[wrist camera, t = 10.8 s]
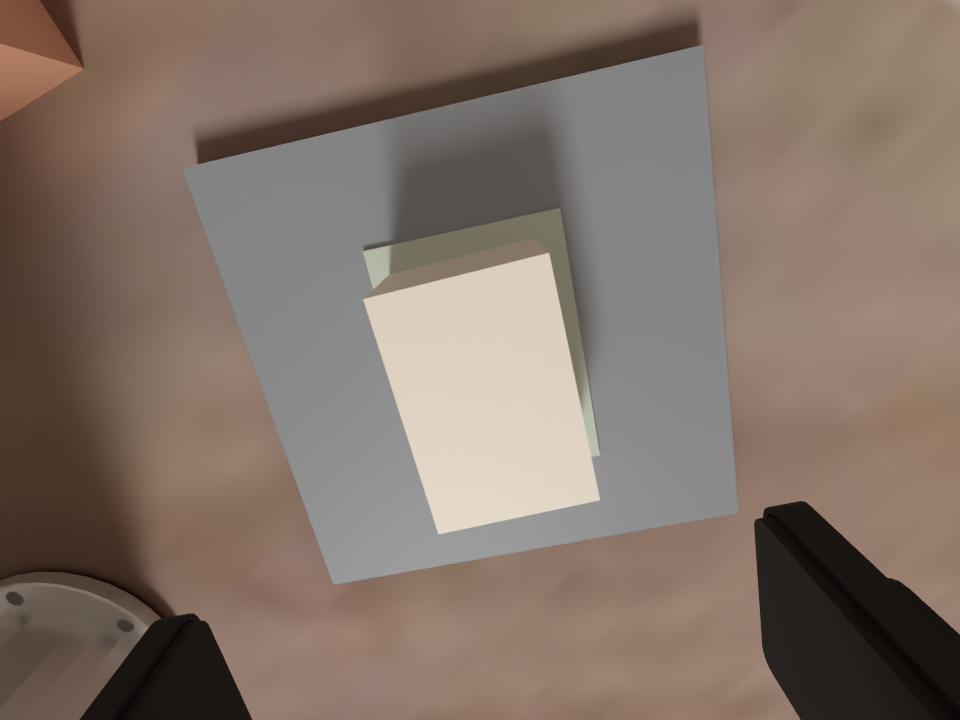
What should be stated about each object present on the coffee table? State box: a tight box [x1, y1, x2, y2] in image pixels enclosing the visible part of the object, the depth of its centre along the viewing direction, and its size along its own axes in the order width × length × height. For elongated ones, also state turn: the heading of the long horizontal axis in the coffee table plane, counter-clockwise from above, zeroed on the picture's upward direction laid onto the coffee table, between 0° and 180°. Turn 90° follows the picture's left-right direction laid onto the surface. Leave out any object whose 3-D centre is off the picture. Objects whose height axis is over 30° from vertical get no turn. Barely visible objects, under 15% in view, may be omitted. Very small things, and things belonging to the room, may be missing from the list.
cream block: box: [363, 238, 600, 534], centre depth 20 cm, size 9×6×5 cm, turn 14°
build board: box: [182, 45, 738, 585], centre depth 23 cm, size 20×20×1 cm
